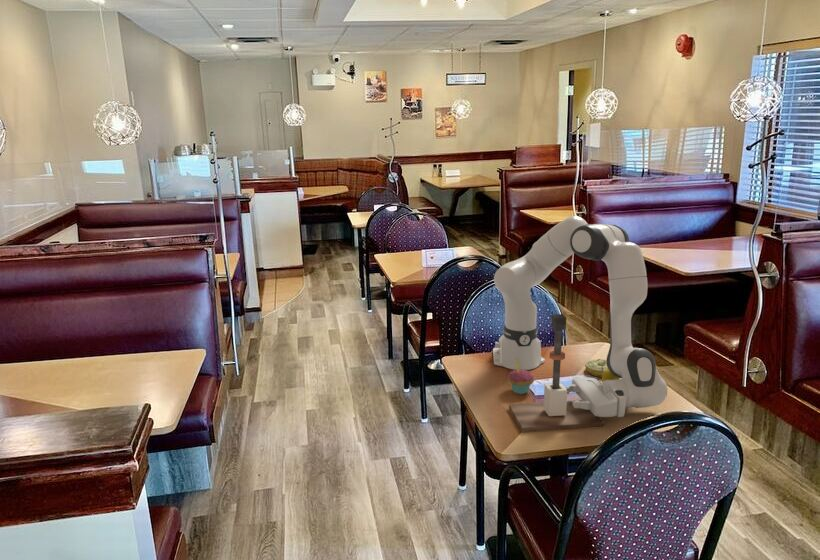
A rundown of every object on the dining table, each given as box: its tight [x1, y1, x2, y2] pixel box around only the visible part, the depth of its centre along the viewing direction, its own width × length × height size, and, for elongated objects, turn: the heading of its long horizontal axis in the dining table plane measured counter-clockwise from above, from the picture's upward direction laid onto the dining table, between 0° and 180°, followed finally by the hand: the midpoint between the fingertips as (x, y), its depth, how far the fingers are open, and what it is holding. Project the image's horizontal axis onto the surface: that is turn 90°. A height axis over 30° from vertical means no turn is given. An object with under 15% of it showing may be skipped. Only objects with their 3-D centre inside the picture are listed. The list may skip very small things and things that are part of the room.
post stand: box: [508, 313, 604, 433], centre depth 186 cm, size 15×24×32 cm, turn 96°
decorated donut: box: [584, 358, 608, 378], centre depth 222 cm, size 10×11×4 cm
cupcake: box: [507, 358, 535, 395], centre depth 207 cm, size 9×8×12 cm
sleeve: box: [543, 382, 568, 416], centre depth 189 cm, size 5×5×8 cm
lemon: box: [601, 369, 621, 383], centre depth 207 cm, size 6×6×8 cm
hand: (567, 397), depth 189 cm, fingers open, 8 cm apart
